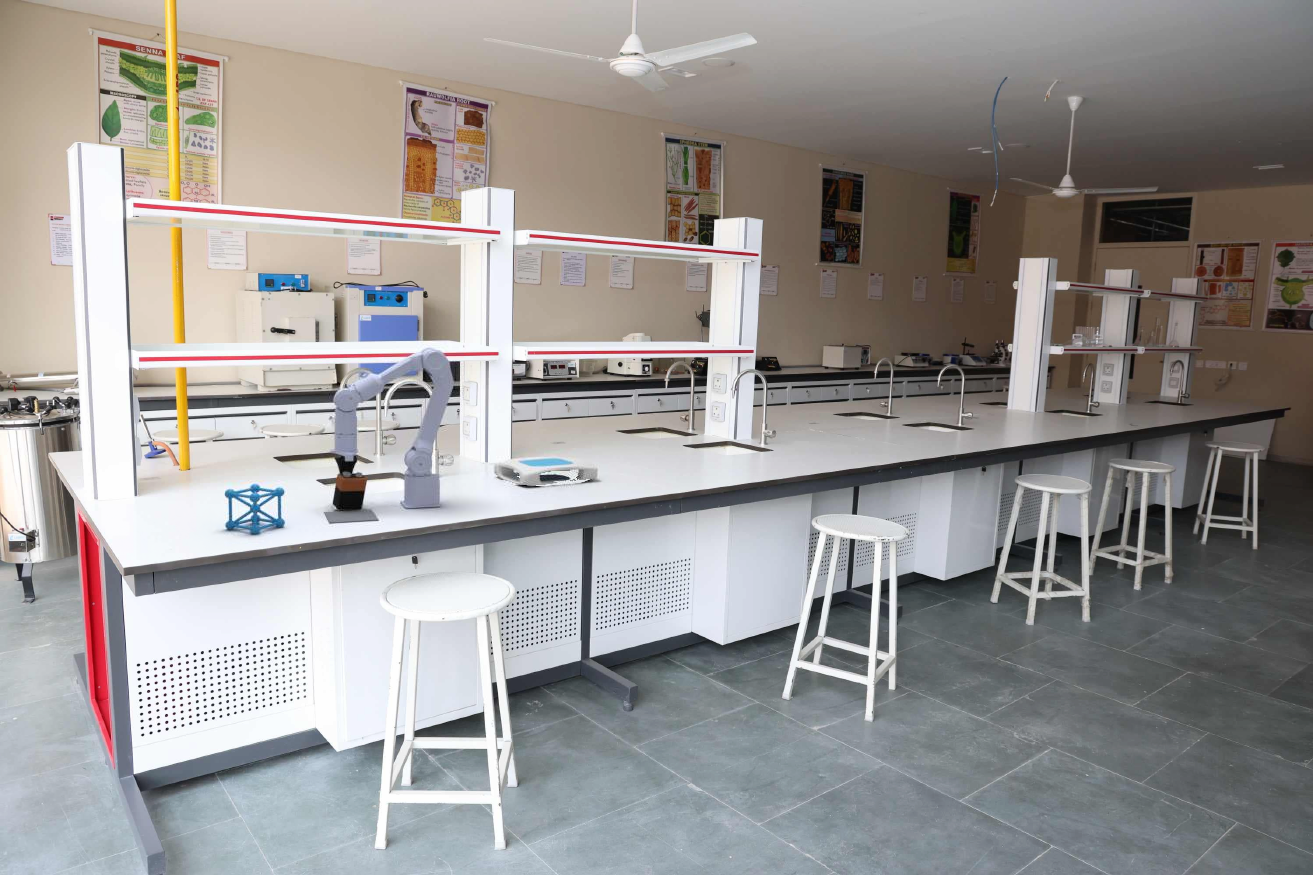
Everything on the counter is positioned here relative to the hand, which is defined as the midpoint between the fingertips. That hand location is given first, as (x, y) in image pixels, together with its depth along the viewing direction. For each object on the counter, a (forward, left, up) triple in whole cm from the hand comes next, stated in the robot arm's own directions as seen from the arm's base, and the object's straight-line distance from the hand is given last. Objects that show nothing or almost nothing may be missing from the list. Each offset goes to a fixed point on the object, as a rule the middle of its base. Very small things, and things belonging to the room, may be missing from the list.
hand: (345, 483), depth 238 cm
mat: (0, +11, -7) cm, 13 cm away
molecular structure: (+23, +17, -7) cm, 29 cm away
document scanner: (-67, -28, -7) cm, 73 cm away
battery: (0, +2, -6) cm, 7 cm away
